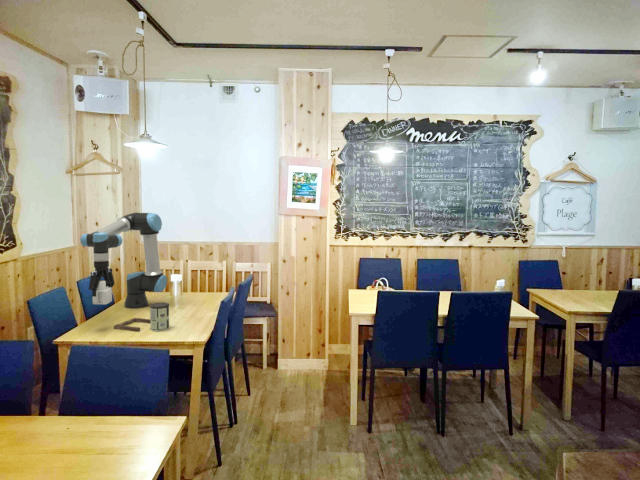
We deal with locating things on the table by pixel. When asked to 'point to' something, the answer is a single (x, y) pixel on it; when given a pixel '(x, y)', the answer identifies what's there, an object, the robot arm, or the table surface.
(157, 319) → the coffee can
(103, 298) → the container
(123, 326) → the dock
